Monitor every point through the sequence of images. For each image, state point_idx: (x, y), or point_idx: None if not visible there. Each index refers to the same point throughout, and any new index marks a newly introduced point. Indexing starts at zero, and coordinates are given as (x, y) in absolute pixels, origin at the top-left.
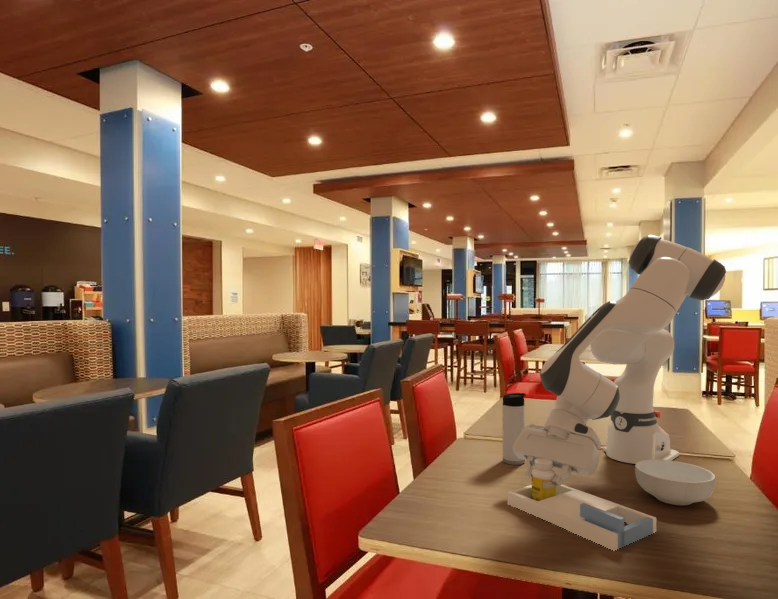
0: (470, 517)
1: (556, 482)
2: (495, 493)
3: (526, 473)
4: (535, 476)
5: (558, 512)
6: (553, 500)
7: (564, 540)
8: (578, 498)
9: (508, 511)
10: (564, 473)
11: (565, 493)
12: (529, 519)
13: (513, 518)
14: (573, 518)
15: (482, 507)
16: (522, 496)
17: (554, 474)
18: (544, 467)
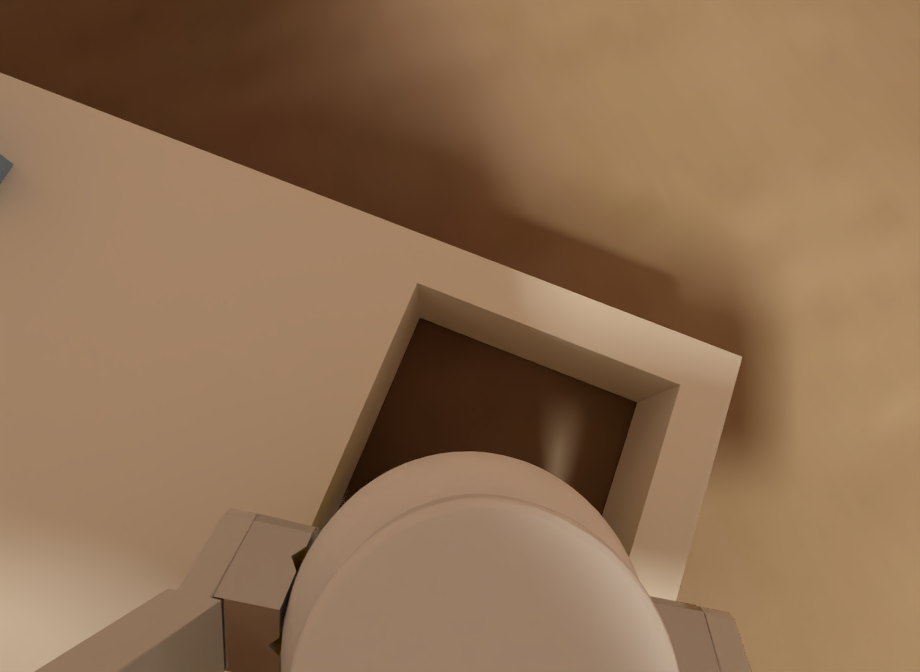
0: (771, 52)
1: (252, 514)
2: (896, 566)
3: (720, 615)
4: (535, 466)
5: (192, 148)
6: (295, 383)
7: (158, 49)
8: (74, 590)
9: (624, 266)
10: (92, 649)
11: None
12: (445, 218)
13: (543, 176)
14: (59, 99)
15: (805, 232)
16: (576, 318)
17: (286, 635)
18: (410, 510)
